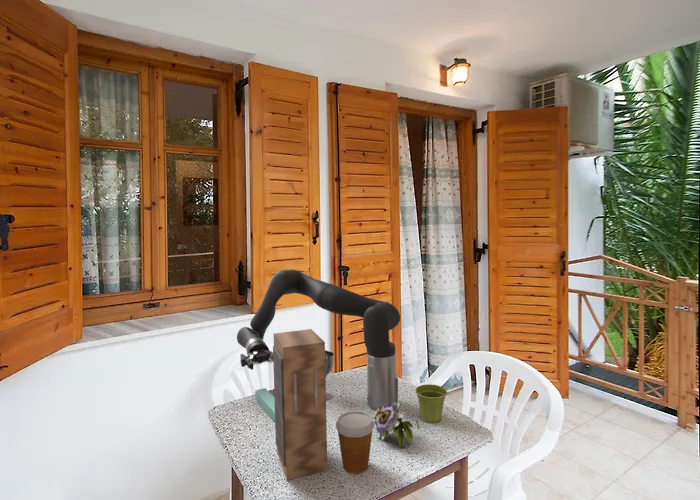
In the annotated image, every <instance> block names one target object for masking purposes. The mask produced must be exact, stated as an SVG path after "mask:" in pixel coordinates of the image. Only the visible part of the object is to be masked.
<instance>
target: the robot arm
mask: <svg viewBox="0 0 700 500" xmlns="http://www.w3.org/2000/svg"><path fill="white" fill-rule="evenodd" d="M291 294H297V295H298V294H299V295H303V296H306V297H308V298H310V299H311V300H312V301H313V303H314V304H315V305H317V306H318V307H319V308H321V309H323V310H326V311H327V312H330V313H333V314H336V315H343V316H350V317H351V316H353V317H359V318H363V319H362V321H363V322H362V326H363V328H362V329H363V341H364V345H365V349H366V371H367V372H366V377H367V378H366V382H367V383H366V386H367V387H366V388H367V390H366V392H367V395H366V396H367V397H366V400H367V401H366V402H367V403H366V404H367V406H368V407H369V408H370V409H373V410H376V411H377V409H378V408H379V407H380V406H382V407H383V406H385V405H386V406H387V404H390V403H391V402H392V403H393V402H394V403H395V404H396V403H397V402H398V401H399V377H398V375H396V345H395V344H394V343H393V342H391V341H390V331H392V330H393V329H394V328H396V327H398V325H399V324H400V321H401V314H400V311H399V310H398V308H397V307H396V306H395V305H393V304H392V303H390V302H388V301H382V300H378V299H373V298H370V297H366V296H363V295H361V294H359V293H356V292H354V291H351V290H348V289H346V288H343V287H341V286H338V285H335V284H334V283H333V284H332V283H330V282H326V281H322V280H320V279H317V278H316V279H315V278H313V277H311V276H310V275H307V274H306V273H303V272H301V271H299V270H296V269H293V268H291V269H282V270H278V271H276V272H275V273H274V274H273V276H272V278H271V280H270V282H269V285H268V287H267V290H266V292H265V294H264V297H263V300H262V302H261V304H260V306H259V307H258V309H257V311H256V312H255V313H254V315H253V317H252V318H251V320H250V322H249V323H250V324H249V325H250V327H248V326H244V327H241V328H240V329H239V330H238V332H237V334H236V341H237V343H238V344H239V346H241V347H243V348H244V349H245V352H246V354H243V353H241V354H240V366H241V367H243V368H244V367H247V368H248V369H250V370H254V366H256V364H257V365H259V364H263V363H272V364H273V351H271V350H270V349H269V347H268V345H267V344H266V342H265V340H264V338H265V334H266V331H267V330H268V328H269V326H270V324H271V323H272V322H273V320H274V318H275V317H276V316H275V315H276V306H277V303H278V302H279V300H280V299H282V297H283V296H284V295H291Z"/></svg>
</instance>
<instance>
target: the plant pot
mask: <svg viewBox="0 0 700 500" xmlns="http://www.w3.org/2000/svg"><path fill="white" fill-rule="evenodd" d="M414 391H415V394H416V397H417V398H418V405H419V413H420V419H422V420H423V421H424V422H427V423H432V424H434V423H437V422H440V421H441V420H442V416H443V410H444V404H445V399H446V396H447V395H448V391H447V389H446V388H445V387H443V386H440V385H437V384H432V383H431V384H430V383H428V384H421V385H418V386H416V388H415V389H414Z"/></svg>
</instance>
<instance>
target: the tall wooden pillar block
mask: <svg viewBox="0 0 700 500" xmlns="http://www.w3.org/2000/svg"><path fill="white" fill-rule="evenodd" d="M325 350H326V342H325V340H323V338H321V337H320V336H319V335H318V333H316V332H315V331H314V330H313V329H312V328H308V329H300V330H291V331H284V332H282V331H281V332H275V333H273V346H272V352H273V362H272V364H273V365H272V366H273V390H274V391H273V394H274V395H273V397H274V399H275V423H274V426H275V427H274V428H275V445H276V453H277V456H278V459H279V462H280V465H281V467H282V472H283V473H284V476H285V478H286V480H287V481H290V480H293V479H298V478H301V477H305V476H309V475H313V474H317V473H321V472H325V471H328V437H327V436H328V434H327V433H328V432H327V431H328V429H327V427H328V426H327V401H326V392H327V385H326V383H327V382H326V379H327V377H326V373H325Z"/></svg>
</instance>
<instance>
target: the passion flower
mask: <svg viewBox="0 0 700 500" xmlns="http://www.w3.org/2000/svg"><path fill="white" fill-rule="evenodd" d="M400 407H401V401H400V400H398V402H397V403H396V404H395V403H394V402H393V403H392V402H391V403H390V404H387V406H386V405H385V406H383V407H382V406H380V407H379V408H378V409H377V410H376V411H375V413H374V417H373V419H374V420H375V421H374V426H375V427H376V429H375V430H376V431H377V433H379V434H378V437H377V439H381V440H382V441H385V440H386V439H387V438H388V435H389V434H390V435H393V434H395V435H396V437H397V441H398V445H399V447H400V448H402V449H404V448H405V443H406V438H407V442H408V445H410V444H412V441H413V437H414V431H413V428H414V425H413V423H411V422H415V423H416V425H417V430H420V428H421V427H420V423H419V419H418V420H417V419H415V420H404V421H403V418H405V413H404V412H401V411H399V409H400ZM405 434H406V436H405Z"/></svg>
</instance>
